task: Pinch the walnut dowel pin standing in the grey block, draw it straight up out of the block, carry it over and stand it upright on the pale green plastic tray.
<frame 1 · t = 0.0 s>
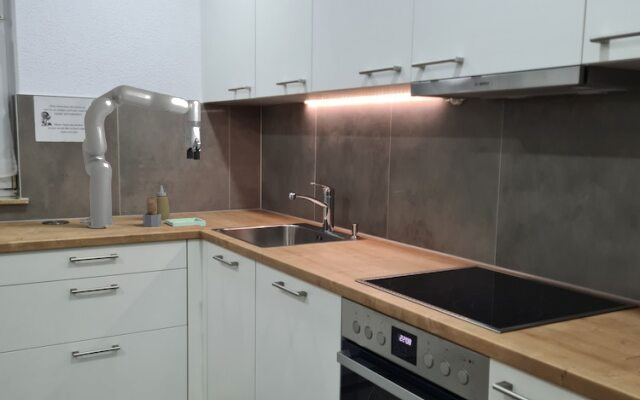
hand: (193, 159, 293), 31 cm above the countertop, tool pointing down, fingers open, 9 cm apart
walnut pin: (152, 225, 271), point 1 cm above the countertop, touching grey block
pale green tray: (185, 225, 280), on the countertop
grey block: (152, 227, 272), on the countertop
squeeze bottle: (161, 221, 292), on the countertop
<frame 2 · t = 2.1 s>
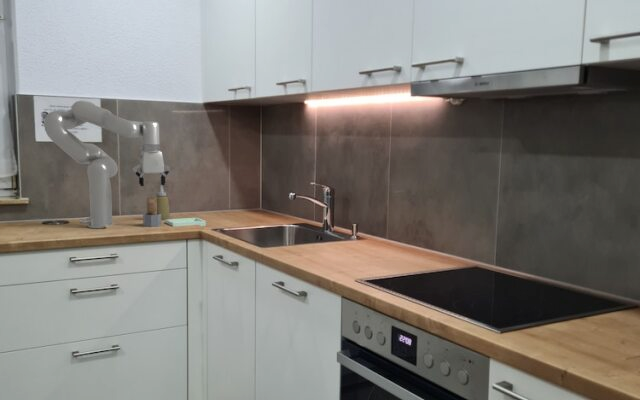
hand: (152, 185, 269), 20 cm above the countertop, tool pointing down, fingers open, 9 cm apart
nothing on the countertop moved.
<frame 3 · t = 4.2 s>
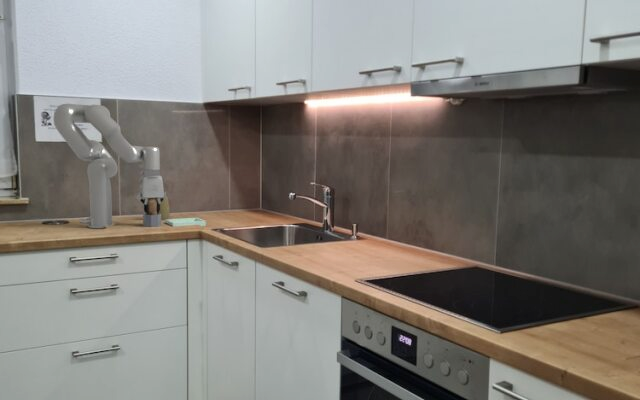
hand: (152, 212, 271), 7 cm above the countertop, tool pointing down, fingers closed on walnut pin, 4 cm apart
walnut pin: (152, 225, 271), point 1 cm above the countertop, touching grey block, gripper
everything else where it was.
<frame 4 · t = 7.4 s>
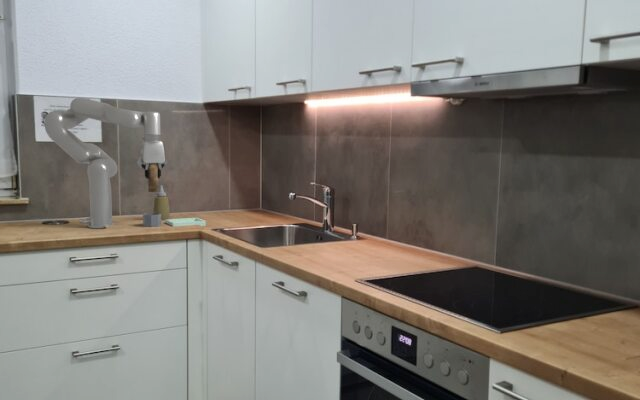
hand: (153, 177, 269), 23 cm above the countertop, tool pointing down, fingers closed on walnut pin, 4 cm apart
walnut pin: (153, 191, 270), point 17 cm above the countertop, touching gripper
everything else where it was.
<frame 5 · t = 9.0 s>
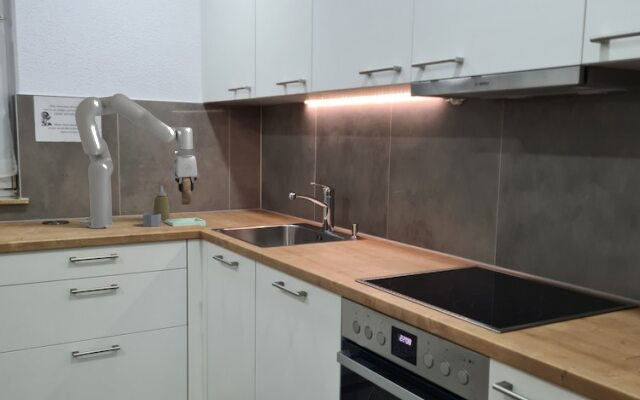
hand: (186, 191, 278), 17 cm above the countertop, tool pointing down, fingers closed on walnut pin, 4 cm apart
walnut pin: (186, 204, 279), point 10 cm above the countertop, touching gripper
everything else where it was.
when the fingers open (9 cm above the countertop, at t = 10.6 s): walnut pin drops 1 cm, resting on pale green tray.
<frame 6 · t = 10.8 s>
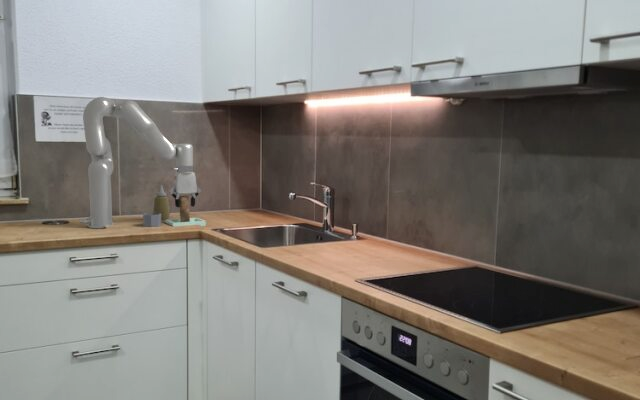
hand: (185, 206, 279), 9 cm above the countertop, tool pointing down, fingers open, 6 cm apart
walnut pin: (185, 222, 280), point 1 cm above the countertop, touching pale green tray
everything else where it was.
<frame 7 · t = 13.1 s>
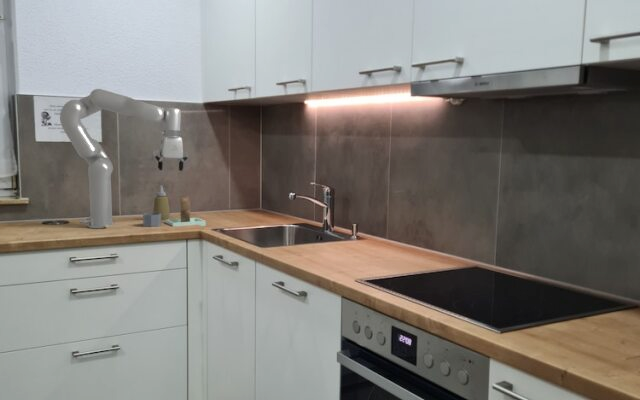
hand: (170, 170, 276), 27 cm above the countertop, tool pointing down, fingers open, 9 cm apart
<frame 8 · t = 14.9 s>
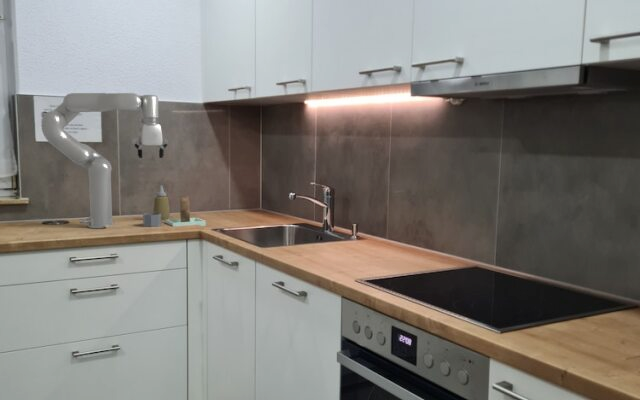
hand: (150, 157, 275), 32 cm above the countertop, tool pointing down, fingers open, 9 cm apart
nothing on the countertop moved.
at the end: walnut pin inside the target area on the pale green tray (0.0 cm from its centre), point 1.0 cm above the pale green tray's base; walnut pin tilted 1°; the gripper is holding nothing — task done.
